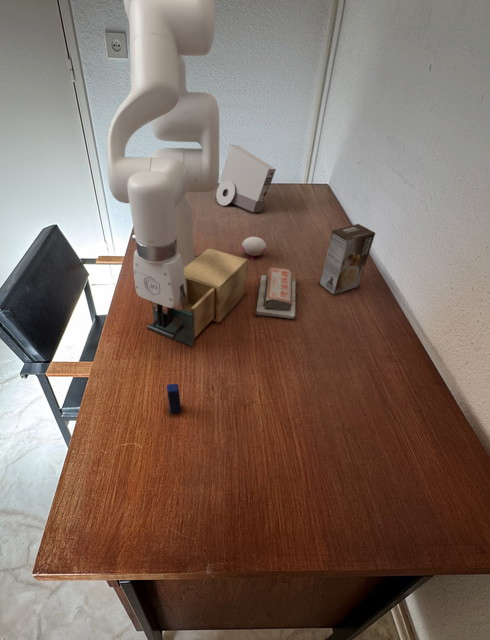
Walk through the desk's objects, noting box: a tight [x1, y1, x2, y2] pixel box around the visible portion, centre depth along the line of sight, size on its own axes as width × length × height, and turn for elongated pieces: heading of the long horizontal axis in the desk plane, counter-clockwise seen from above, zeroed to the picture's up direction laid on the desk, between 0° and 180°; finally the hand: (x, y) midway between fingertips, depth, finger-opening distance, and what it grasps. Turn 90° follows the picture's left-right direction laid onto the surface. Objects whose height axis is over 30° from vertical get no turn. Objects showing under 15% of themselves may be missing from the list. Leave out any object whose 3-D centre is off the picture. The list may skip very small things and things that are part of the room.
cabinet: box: [184, 248, 248, 324], centre depth 96 cm, size 15×12×11 cm
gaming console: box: [215, 144, 277, 213], centre depth 138 cm, size 23×8×20 cm, turn 43°
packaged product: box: [255, 266, 297, 320], centre depth 99 cm, size 18×5×10 cm
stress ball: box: [241, 236, 267, 260], centre depth 117 cm, size 8×8×7 cm
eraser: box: [166, 383, 182, 415], centre depth 71 cm, size 2×2×7 cm
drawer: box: [146, 278, 217, 346], centre depth 87 cm, size 18×10×9 cm, turn 150°
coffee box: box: [319, 223, 376, 295], centre depth 100 cm, size 9×6×16 cm
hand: (165, 323), depth 82 cm, fingers closed
